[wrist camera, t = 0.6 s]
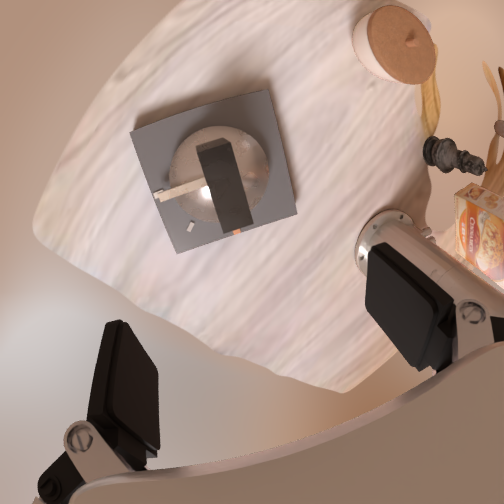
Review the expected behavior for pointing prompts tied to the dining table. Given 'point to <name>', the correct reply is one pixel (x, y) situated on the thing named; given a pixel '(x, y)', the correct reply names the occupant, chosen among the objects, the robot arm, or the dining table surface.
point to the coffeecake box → (481, 230)
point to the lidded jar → (394, 46)
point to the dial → (218, 176)
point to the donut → (499, 127)
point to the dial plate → (186, 123)
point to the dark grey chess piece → (451, 157)
